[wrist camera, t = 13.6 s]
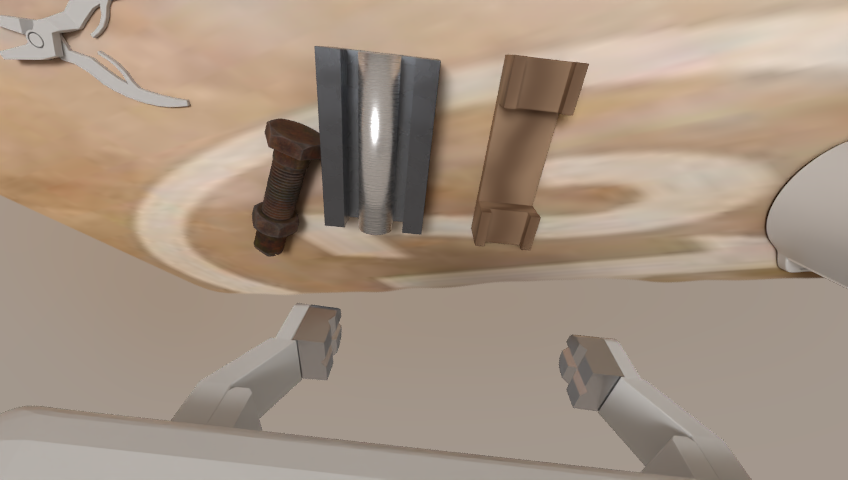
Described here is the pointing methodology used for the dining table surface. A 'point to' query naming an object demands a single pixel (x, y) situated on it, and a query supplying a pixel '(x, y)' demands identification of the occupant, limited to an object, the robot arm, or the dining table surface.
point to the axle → (377, 139)
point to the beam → (522, 145)
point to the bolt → (283, 183)
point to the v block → (342, 135)
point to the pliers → (52, 44)
